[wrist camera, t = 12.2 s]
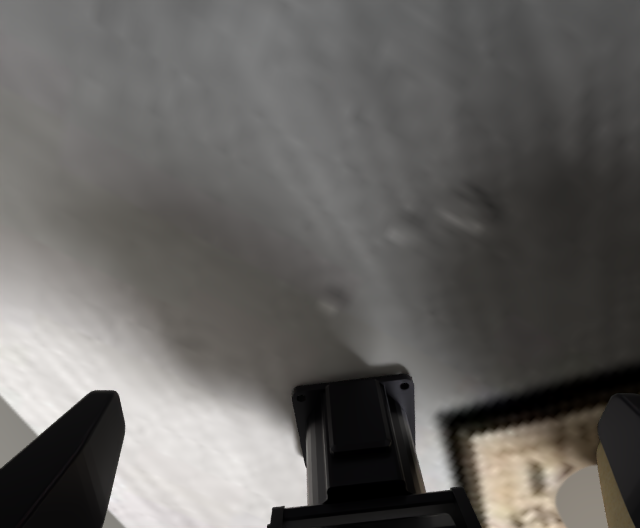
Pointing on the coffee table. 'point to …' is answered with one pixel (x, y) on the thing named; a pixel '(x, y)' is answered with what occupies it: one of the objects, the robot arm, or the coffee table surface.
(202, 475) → the coffee table surface
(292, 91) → the coffee table surface
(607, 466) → the plant pot
